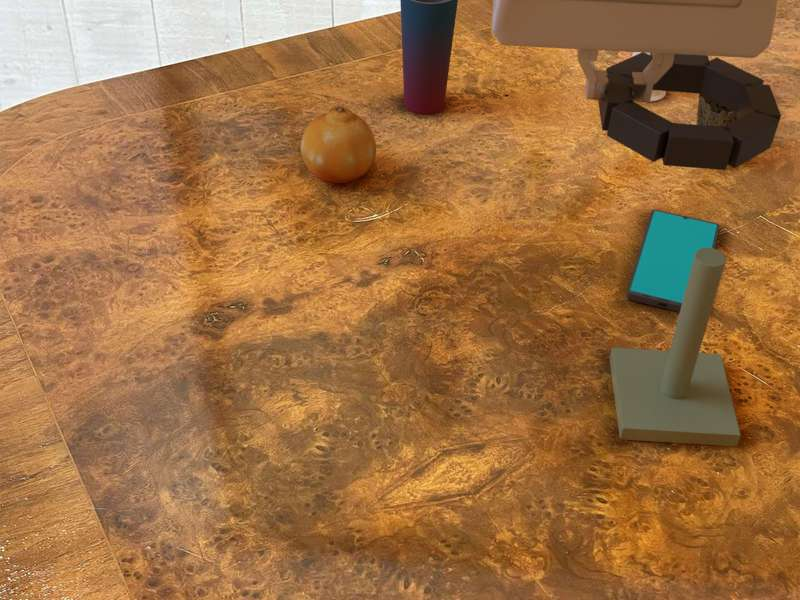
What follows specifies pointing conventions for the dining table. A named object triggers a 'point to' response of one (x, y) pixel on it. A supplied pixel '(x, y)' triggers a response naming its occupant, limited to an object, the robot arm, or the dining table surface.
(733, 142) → the ring
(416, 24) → the cup
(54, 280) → the dining table surface
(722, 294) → the dining table surface
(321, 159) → the fruit
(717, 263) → the post
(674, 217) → the smartphone
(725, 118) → the cup
